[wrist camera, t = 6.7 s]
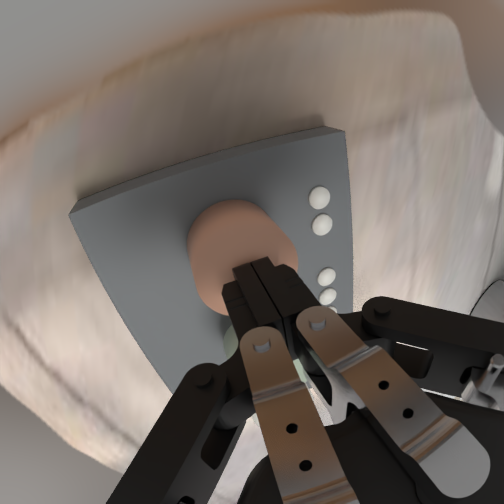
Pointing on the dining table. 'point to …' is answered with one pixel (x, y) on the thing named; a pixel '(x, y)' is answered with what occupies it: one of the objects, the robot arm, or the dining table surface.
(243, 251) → the terracotta button
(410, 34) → the dining table surface
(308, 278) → the charcoal panel
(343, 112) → the dining table surface
